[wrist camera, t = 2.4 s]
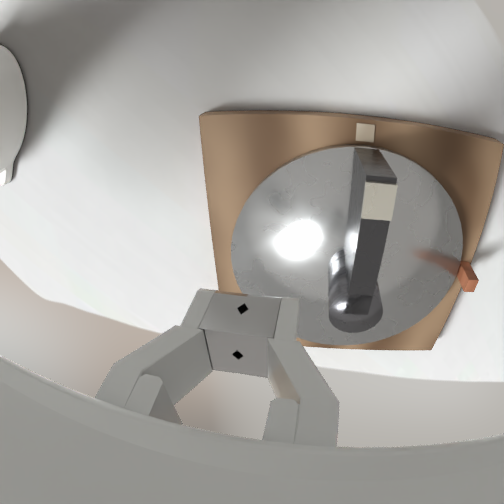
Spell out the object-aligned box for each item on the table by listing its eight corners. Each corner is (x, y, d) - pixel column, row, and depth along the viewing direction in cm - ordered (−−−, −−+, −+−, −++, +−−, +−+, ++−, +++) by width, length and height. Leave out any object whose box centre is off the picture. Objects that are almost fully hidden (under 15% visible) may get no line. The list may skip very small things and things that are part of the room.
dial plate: (229, 328, 34) (220, 357, 30) (205, 111, 21) (185, 123, 18) (428, 339, 30) (435, 368, 27) (494, 138, 18) (521, 155, 14)
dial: (422, 341, 28) (432, 390, 23) (240, 331, 31) (227, 380, 26) (483, 162, 18) (526, 199, 13) (224, 139, 21) (194, 169, 16)
